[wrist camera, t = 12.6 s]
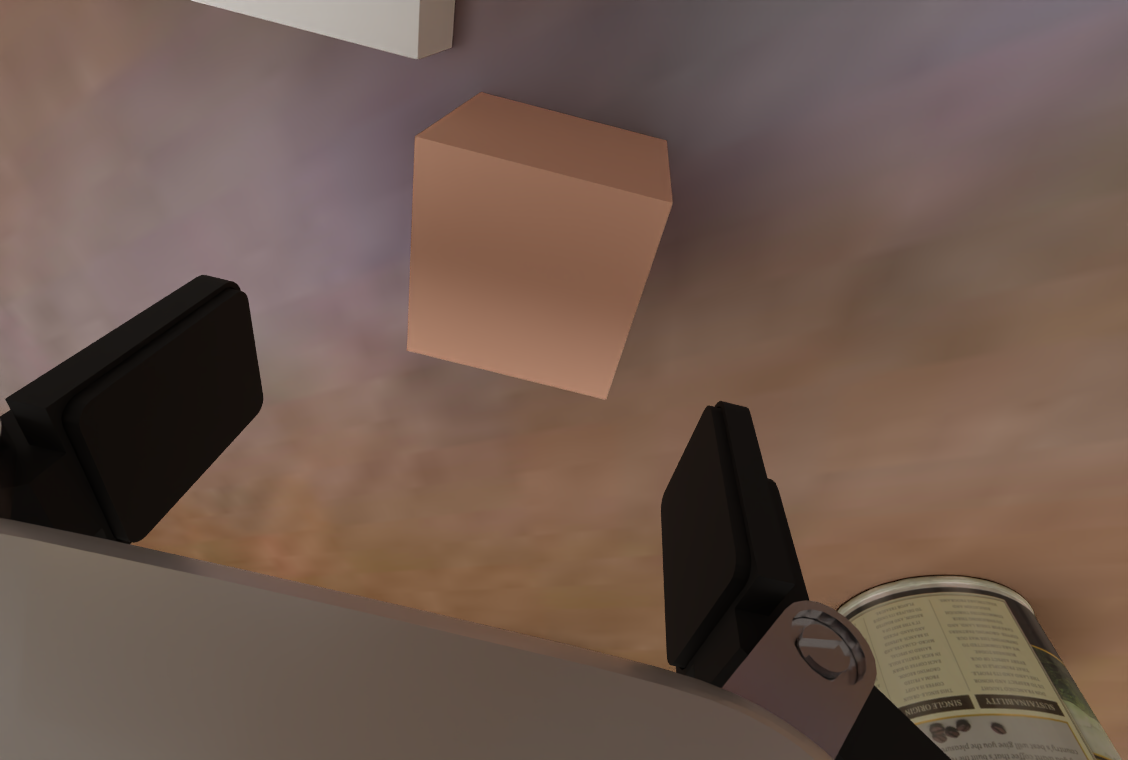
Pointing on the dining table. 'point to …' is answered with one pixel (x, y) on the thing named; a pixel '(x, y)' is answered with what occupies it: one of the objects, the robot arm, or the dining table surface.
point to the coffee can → (975, 671)
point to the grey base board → (362, 21)
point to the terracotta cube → (532, 241)
